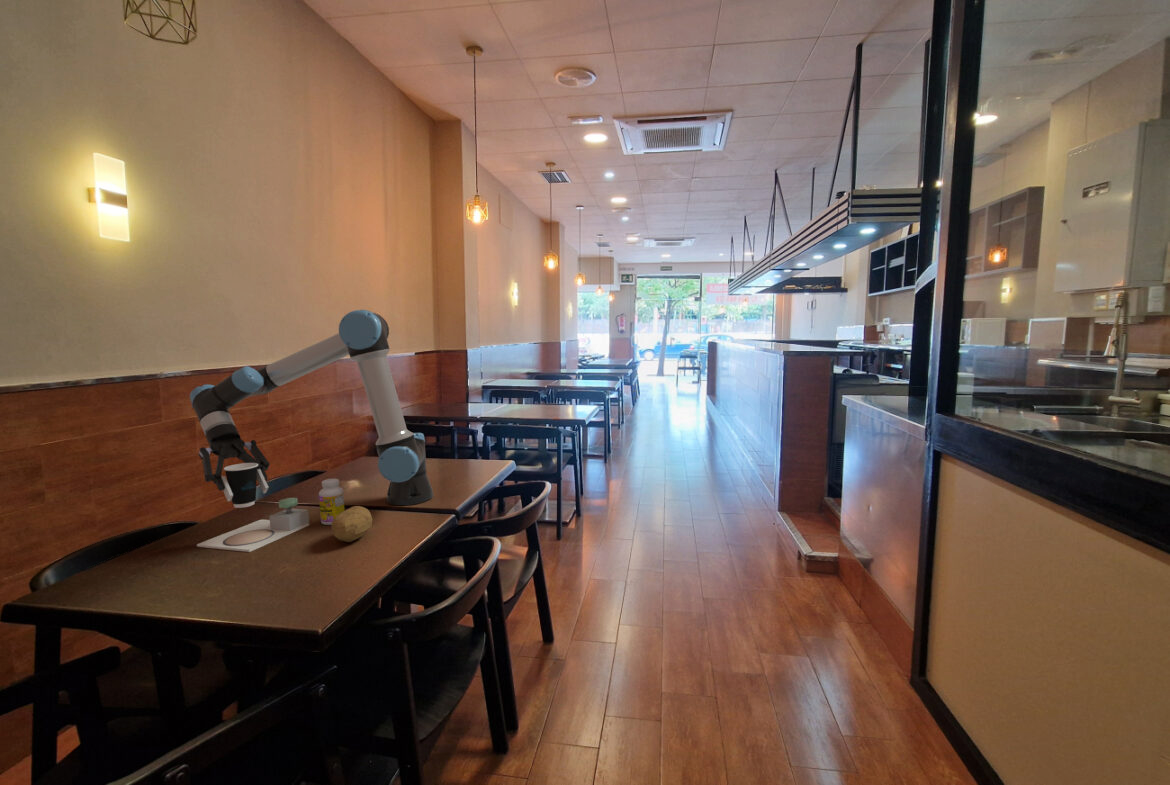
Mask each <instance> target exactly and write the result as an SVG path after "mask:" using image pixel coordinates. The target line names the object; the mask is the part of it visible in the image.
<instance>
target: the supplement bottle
mask: <svg viewBox="0 0 1170 785" xmlns="http://www.w3.org/2000/svg"><path fill="white" fill-rule="evenodd" d="M339 484H340V479H338V478H328V479H324V480H322V481H321V487H322V489H320V490H319V492H318V500H319V502H318V503H319V514H320V522H321V524H322V525H325V526H332V522H333V520H334V518H335V517H336V516H337V515H338V514H340V513H342V512H344V511H346V510H345V499H344V498H345V497H344V490H343V488H342V487H341V486H339Z"/></svg>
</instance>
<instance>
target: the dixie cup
mask: <svg viewBox="0 0 1170 785" xmlns="http://www.w3.org/2000/svg"><path fill="white" fill-rule="evenodd" d="M257 466H258V464H257V463H245V462H243V463H236V464H231V465H227V466H225V467H223V471H224V472H225V477H226V479H227V482H228V484H229V486H230V489H231V491H232V493H233V497H232V500H231V503H232V504H233V507H234V508H236V509H237V508H238V509H242V508H248V507H251V506H253V505H255V502H256V500H257V483H258V481H257Z"/></svg>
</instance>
